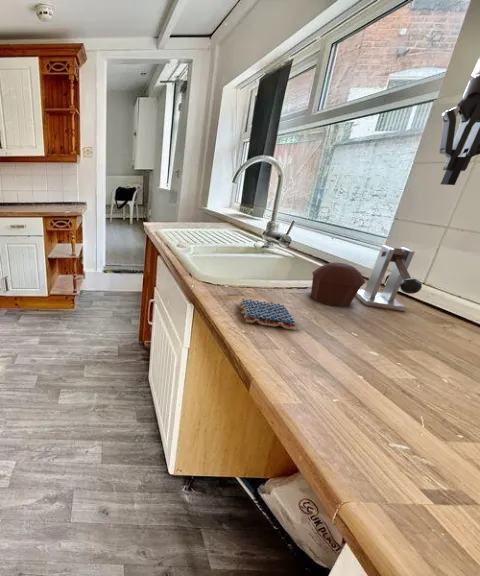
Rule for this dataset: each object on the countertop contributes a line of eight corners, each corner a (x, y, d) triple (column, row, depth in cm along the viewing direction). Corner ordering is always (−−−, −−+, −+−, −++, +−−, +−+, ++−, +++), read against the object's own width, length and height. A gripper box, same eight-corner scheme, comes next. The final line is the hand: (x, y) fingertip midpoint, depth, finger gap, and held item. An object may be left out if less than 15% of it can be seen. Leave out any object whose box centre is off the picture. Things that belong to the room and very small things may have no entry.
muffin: (302, 289, 90) (313, 256, 86) (348, 296, 86) (361, 262, 82) (309, 303, 80) (321, 267, 76) (362, 312, 76) (377, 274, 72)
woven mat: (244, 323, 68) (246, 315, 67) (238, 304, 77) (239, 297, 77) (296, 331, 65) (299, 323, 65) (283, 311, 75) (286, 303, 74)
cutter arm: (418, 298, 70) (428, 286, 68) (398, 295, 71) (407, 284, 69) (398, 258, 80) (406, 247, 78) (381, 256, 81) (388, 245, 79)
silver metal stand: (404, 311, 78) (429, 255, 72) (365, 305, 80) (387, 250, 75) (385, 297, 86) (407, 246, 81) (351, 292, 89) (370, 242, 84)
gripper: (468, 72, 68) (423, 183, 77) (551, 68, 64) (493, 186, 73) (447, 81, 75) (407, 182, 83) (521, 78, 70) (470, 185, 79)
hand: (447, 184), depth 78 cm, fingers closed
